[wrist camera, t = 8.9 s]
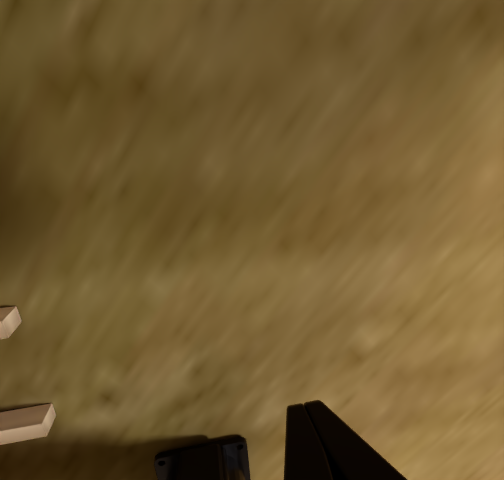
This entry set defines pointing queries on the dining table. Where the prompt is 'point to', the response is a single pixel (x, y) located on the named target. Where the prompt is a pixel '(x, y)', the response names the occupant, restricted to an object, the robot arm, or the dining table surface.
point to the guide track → (26, 419)
